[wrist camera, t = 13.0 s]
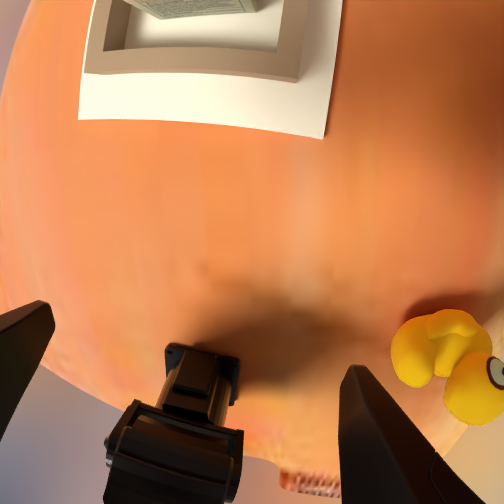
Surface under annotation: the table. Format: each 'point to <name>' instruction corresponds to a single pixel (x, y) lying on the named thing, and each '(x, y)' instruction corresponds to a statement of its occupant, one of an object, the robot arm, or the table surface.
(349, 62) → the table surface
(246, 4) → the skincare box
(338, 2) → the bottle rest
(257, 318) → the table surface
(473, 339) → the duckling
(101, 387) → the table surface
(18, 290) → the table surface
